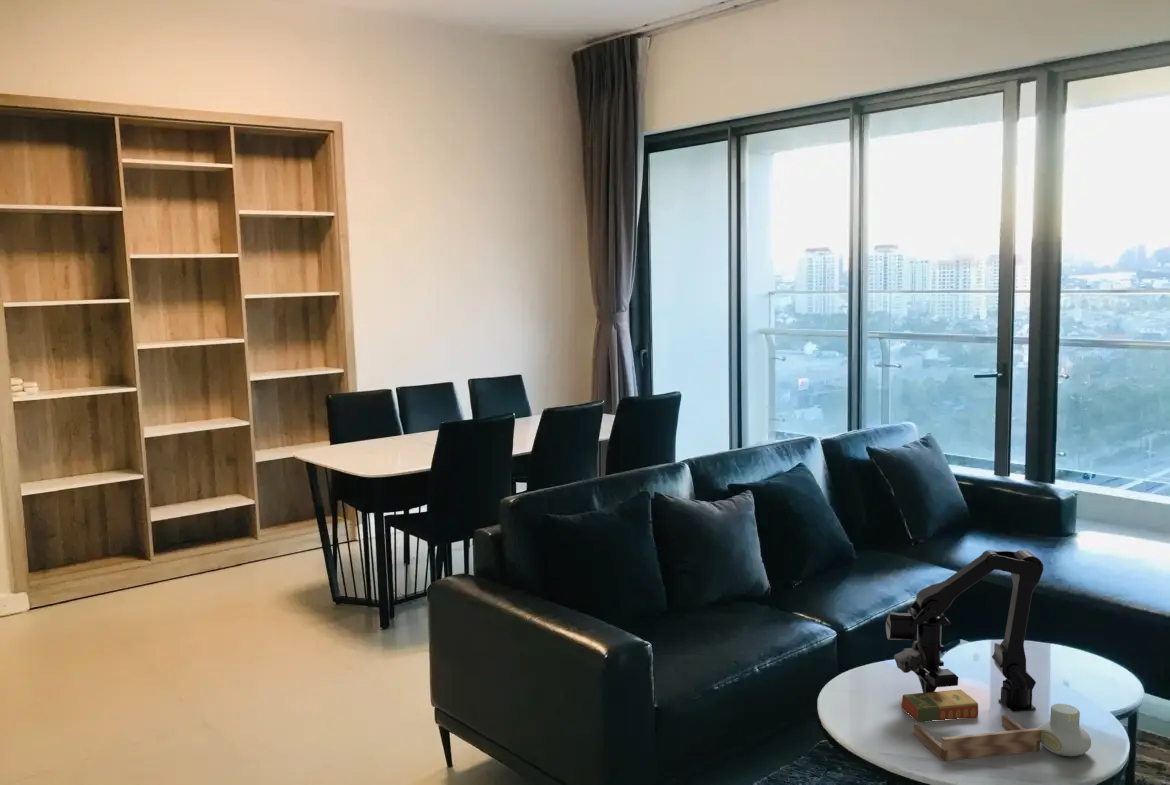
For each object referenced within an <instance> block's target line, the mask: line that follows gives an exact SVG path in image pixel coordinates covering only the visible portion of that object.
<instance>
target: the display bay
mask: <svg viewBox="0 0 1170 785" xmlns="http://www.w3.org/2000/svg"><path fill="white" fill-rule="evenodd" d="M1001 726H1002V727H1004V728H1005V729H1006V730H1004V731H1003V730H1002V731H993V732H985V733H982V732H981V733H974V734H965V735H963V734H962V735H952V736H946V737H941V743H940V741H938V740H937V739H936V738H935V737H934V736H932V735H931V734H930V733H929V732H928V731H927V730H926V729H924V727H922V726H921V725H920V723H915V724H913V735H914V736H915V735H916V736H915V737H916V738H917V737H918V738H919V739H918V740H919V741H920V742H922V743H923V744H924V745H925V746H926V747H928V749H929V750H931V751H932V752H933V753H934V754H935V755H936V756H937V757H938V758H939V759H941V761H943V762H947V761H956V760H964V759H965V760H966V759H973V758H974V759H975V758H983V757H985V758H986V757H993V756H995V757H996V756H1004V755H1010V754H1011V755H1013V754H1020V753H1021V754H1022V753H1030V752H1040V751H1041V729H1039V727H1034V728H1025V727H1023V726H1022V725H1020V724H1019V723H1018V722H1016V721H1015V720H1014V719H1012V718H1010V717H1009V716H1008V715H1006V714H1005V715H1002V718H1001Z"/></svg>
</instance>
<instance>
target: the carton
mask: <svg viewBox="0 0 1170 785" xmlns="http://www.w3.org/2000/svg"><path fill="white" fill-rule="evenodd" d="M901 700H902V701H901V709H902V708H903V709H904V710H905V711H906V712H907V713H909V715H908V716H910V715H911V716H912V717H913V718H914V719H915V720H916V721H917V722H916V721H915V720H914V719H913V718H912V717H911V716H910V717H911V718H912V719H913V720H914V721H915V722H916V723H918V722H920V723H926V722H925V721H932V720H944V721H946V720H945V719H956V720H958V719H957V718H968V719H977V718H976V717H978V718H979V703H978V702H977V701H976V700H975V699H974V698H973V697H971V696H970V695H969V694H968V693H966V692H965V691H964V690H962V689H951V690H950V689H949V690H941V691H934V692H928V693H923V692H917V693H908V694H907V693H905V694H902V698H901ZM903 709H902V710H903ZM904 710H903V711H904ZM905 711H904V712H905ZM906 712H905V713H906ZM907 713H906V714H907ZM932 722H933V721H932Z"/></svg>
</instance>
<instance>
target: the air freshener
mask: <svg viewBox="0 0 1170 785" xmlns="http://www.w3.org/2000/svg"><path fill="white" fill-rule="evenodd" d="M1080 714H1081V712H1080V710H1079V708H1077V707H1076V706H1073V705H1071V704H1067V703H1055V704H1052V705H1051V706H1050V716H1049V717H1050V719H1049V720H1048V721H1046V722H1045V723H1042V724H1041V725H1040V726H1039V727H1038V728H1039V729H1041V743H1040V745H1042V746H1043V747H1044V748H1046V749H1047V751H1050V753H1052V754H1055V755H1058V756H1063V757H1077V756H1081V755H1084V754H1086V753H1087V752H1089V750H1090V749H1091V746H1092V739H1091V736H1090V735H1089V733H1088V732H1087V731H1086V730H1085V729H1084V728H1082V727H1081V726H1080V719H1081V718H1080Z"/></svg>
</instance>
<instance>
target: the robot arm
mask: <svg viewBox="0 0 1170 785" xmlns="http://www.w3.org/2000/svg"><path fill="white" fill-rule="evenodd" d="M995 570H997V571H1002V572H1006V573H1010V575H1011V580H1012V591H1011V597H1010V603H1009V608H1008V615H1007V621H1006V626H1005V631H1004V632H1005V633H1004V638H1003V640H1002V641H1001V642H1000V643H995V642H994V644H993V645H994V652H993V654H992V656H991V658H992V659H993V663H994V665H995V666H996V668H997V670H999V672H1000V673H1001V675H1002V676H1003V677H1004V678H1005V680H1002V686H1001V688H1000V698H998V699H997V700H998V703H1000V704H1001V705H1002V706H1004V707H1005V708H1007V709H1009V710H1010V711H1011V712H1014V713H1015V712H1025V711H1026V712H1027V711H1035V710H1036V709H1037V707H1036V706H1035V705H1033V690H1034V688H1035V685H1036V683H1037V682H1036V680H1035V678H1033V676H1032V675H1030V673H1029V672H1028V671H1027V657H1026V652H1025V647H1024V646H1025V644H1024V643H1025V639H1026V632H1027V627H1028V621H1029V615H1030V610H1031V602H1032V596H1033V592H1034V590H1035V588H1037V585H1038V584H1040V583H1039V582H1040V580H1041V577H1042V575H1043V572H1044V564H1043V562H1042V561H1041V559H1039V558H1038V557H1037V556H1036V555H1035V554H1033V553H1032V552H1031V551H1029V550H1027V549H1026V550H1025V549H1020V550H1017V551H1011V550H991V549H987V550H985V551H983V552H982V553H981V554H980V555H979V556H978V557H976V558H975V559H974V560H972V561H971V562H969V563H967V564H966V565H965V566H963V567H962V568H961V569H959V570H958V571H956V572H955V573H954V574H952V575H950V577H948V578H947V579H945V580H943V581H941V582H939V583H933V584H931V585H929V586H927V587H925V588H922V589H920V591H918V593H916V599H915V601H913V602H912V604H911V605H910V606H909V607H908V608H907V611H906V612H895V611H889V612H887V614H888V615H887V618H886V621H885V632H886V634H885V635H886V638H887V640H896V641H897V640H899V641H912V640H913V639H915V637H916V640H913V642H912V645H911V646H912V647H906V648H903V649H901V650H900V652H898V653H895V654H894V655H893V658H894V660H895V663H896V666H897V667H896V668H897V669H899V670H901V671H902V673H904V674H907V673H910V672H913V673H914V674H915V675H916V676H917V678H918V680H919V683H920V687H921V691H922V693H928V692H936V689H937V688H946V687H955V686H958V685H959V676H958V675H957V674H956V673H954V671H952V670H950V669H949V668H942V667H944V666H945V662H944V661H943V660H941V652H942V651H945V646H944V645H943V644H942V626H950V625H951V622H950V620H949V619H948V618H947V617H946V616H945V615H944V613H945V612H946V610H948V609H949V608H950V606H951V605H952V603H953V602H954V601H955V599H956V598H957V597H958V596H959V595H961V594H962V593H964V592H965V591H966V590H968V589H970V587H972V586H973V585H975V584H976V583H978V582H979V581H981V580H982V579H983V578H985V577H986V576H988V575H990V574H991V573H992V572H994V571H995Z"/></svg>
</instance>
